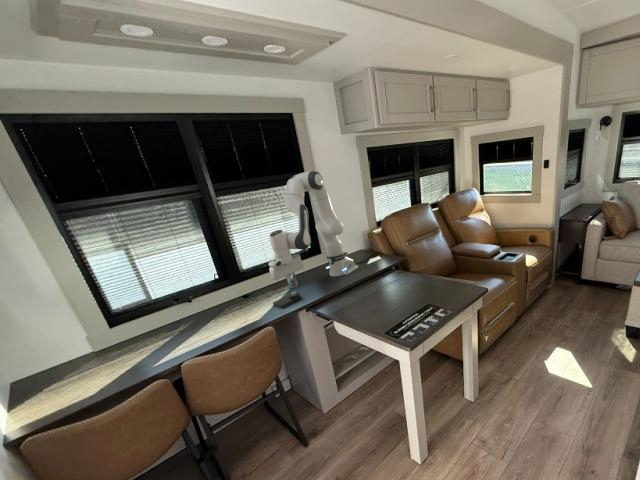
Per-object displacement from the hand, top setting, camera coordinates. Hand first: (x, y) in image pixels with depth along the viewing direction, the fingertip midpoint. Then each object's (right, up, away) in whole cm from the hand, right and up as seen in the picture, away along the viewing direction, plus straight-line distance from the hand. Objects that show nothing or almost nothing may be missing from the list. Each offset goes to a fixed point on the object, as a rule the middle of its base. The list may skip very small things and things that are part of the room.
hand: (290, 281), depth 185 cm
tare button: (+1, -8, +3) cm, 9 cm away
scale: (-3, -13, +3) cm, 13 cm away
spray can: (-8, -4, +27) cm, 29 cm away
